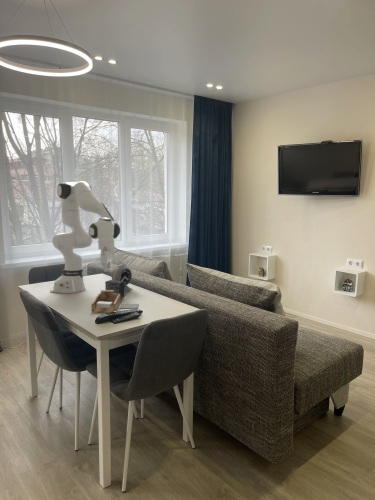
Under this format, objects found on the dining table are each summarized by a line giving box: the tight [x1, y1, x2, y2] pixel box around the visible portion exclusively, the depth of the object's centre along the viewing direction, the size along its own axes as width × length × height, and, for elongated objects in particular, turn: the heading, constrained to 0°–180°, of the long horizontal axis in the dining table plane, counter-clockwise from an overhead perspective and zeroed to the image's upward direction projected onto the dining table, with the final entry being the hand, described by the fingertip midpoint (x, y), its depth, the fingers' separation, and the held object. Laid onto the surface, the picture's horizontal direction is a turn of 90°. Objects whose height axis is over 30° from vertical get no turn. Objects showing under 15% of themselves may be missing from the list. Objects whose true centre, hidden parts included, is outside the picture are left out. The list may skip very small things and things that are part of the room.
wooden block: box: [100, 289, 114, 304], centre depth 215 cm, size 7×3×9 cm, turn 93°
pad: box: [119, 303, 140, 310], centre depth 214 cm, size 10×8×1 cm
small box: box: [104, 279, 125, 300], centre depth 231 cm, size 11×6×10 cm, turn 71°
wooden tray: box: [91, 292, 121, 314], centre depth 212 cm, size 13×21×5 cm, turn 3°
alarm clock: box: [111, 264, 134, 293], centre depth 248 cm, size 14×10×18 cm
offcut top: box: [97, 301, 113, 309], centre depth 206 cm, size 8×4×2 cm, turn 81°
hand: (107, 269), depth 212 cm, fingers open, 8 cm apart
